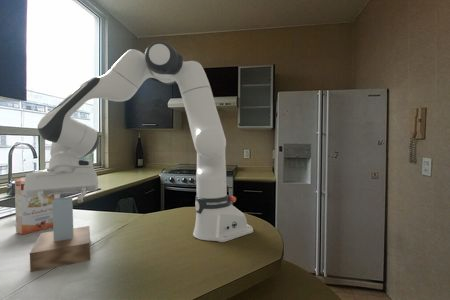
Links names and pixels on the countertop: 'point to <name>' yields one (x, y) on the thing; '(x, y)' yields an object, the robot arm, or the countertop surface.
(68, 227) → the block
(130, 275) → the countertop surface
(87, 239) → the walnut wood block
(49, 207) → the cracker box
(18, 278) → the countertop surface
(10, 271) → the countertop surface
